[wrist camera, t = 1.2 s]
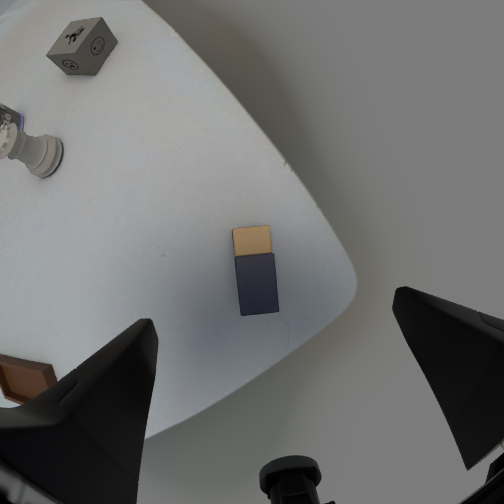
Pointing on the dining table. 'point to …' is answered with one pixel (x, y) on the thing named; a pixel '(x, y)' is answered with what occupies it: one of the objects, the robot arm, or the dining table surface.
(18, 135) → the rook chess piece
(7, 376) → the tray
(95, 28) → the dice cube
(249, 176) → the dining table surface
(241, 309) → the stacked boxes
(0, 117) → the pill bottle
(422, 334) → the robot arm
